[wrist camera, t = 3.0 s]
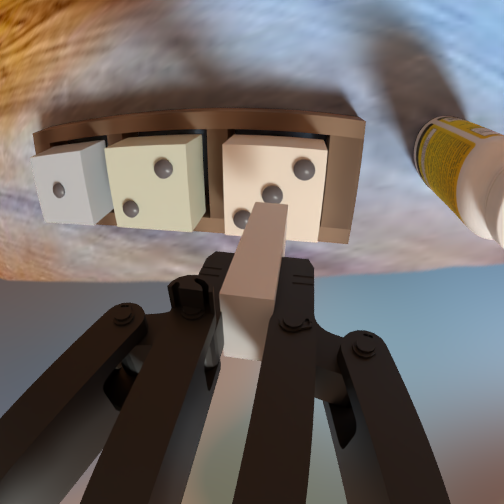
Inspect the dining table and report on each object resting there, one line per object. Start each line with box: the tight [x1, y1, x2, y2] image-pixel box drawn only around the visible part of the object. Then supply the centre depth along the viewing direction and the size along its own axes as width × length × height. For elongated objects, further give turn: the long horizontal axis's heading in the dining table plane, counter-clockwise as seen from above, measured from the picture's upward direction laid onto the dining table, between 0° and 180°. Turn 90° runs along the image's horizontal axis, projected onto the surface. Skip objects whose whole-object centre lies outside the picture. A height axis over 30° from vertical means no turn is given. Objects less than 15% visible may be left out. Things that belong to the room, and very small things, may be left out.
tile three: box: [222, 134, 328, 243], centre depth 19 cm, size 6×6×3 cm
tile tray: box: [33, 108, 366, 244], centre depth 22 cm, size 27×9×2 cm, turn 89°
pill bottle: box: [414, 116, 504, 249], centre depth 14 cm, size 6×6×11 cm
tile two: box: [104, 134, 206, 232], centre depth 20 cm, size 6×6×3 cm
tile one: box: [30, 140, 114, 225], centre depth 21 cm, size 6×6×3 cm
